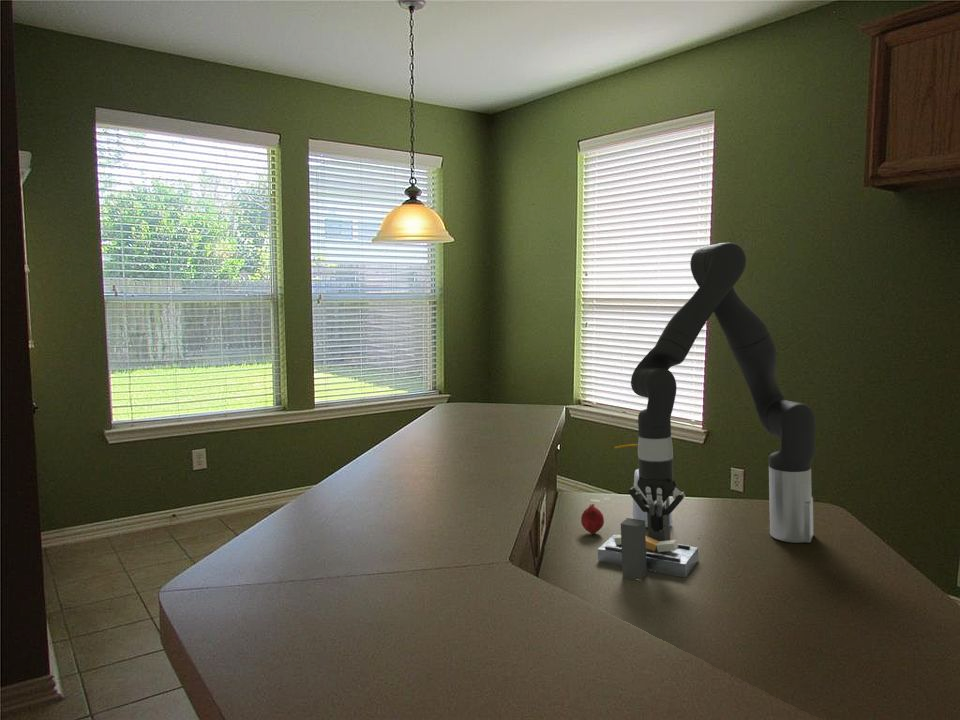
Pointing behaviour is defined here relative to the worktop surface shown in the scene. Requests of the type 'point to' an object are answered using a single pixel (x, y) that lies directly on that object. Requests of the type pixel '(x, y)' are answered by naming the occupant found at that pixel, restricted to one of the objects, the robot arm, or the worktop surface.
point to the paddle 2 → (667, 545)
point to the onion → (592, 519)
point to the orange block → (651, 543)
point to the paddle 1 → (618, 540)
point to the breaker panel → (654, 558)
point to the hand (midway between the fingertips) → (657, 530)
